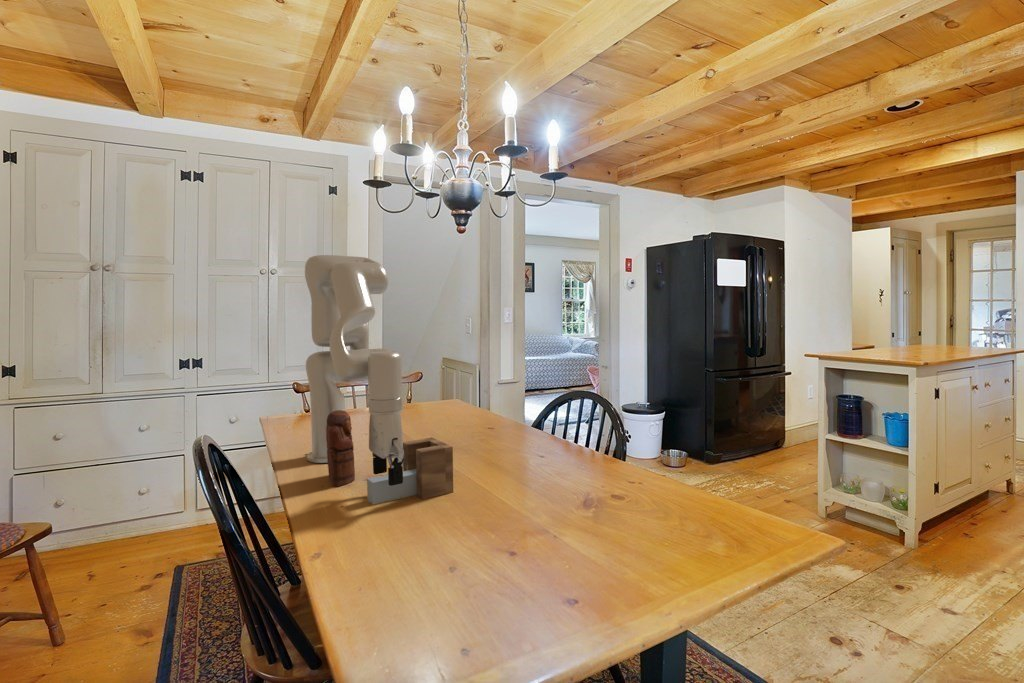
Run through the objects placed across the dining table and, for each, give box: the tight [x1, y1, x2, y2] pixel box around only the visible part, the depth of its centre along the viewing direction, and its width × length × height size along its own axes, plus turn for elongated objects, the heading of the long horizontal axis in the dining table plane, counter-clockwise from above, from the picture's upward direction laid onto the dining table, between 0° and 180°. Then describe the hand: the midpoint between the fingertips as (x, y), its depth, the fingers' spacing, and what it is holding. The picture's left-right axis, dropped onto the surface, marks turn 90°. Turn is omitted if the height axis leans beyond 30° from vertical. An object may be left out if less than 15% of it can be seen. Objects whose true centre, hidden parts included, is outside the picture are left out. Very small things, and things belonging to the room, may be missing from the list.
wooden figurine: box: [326, 410, 356, 487], centre depth 132 cm, size 12×6×18 cm, turn 25°
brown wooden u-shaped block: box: [403, 437, 454, 500], centre depth 125 cm, size 11×8×11 cm
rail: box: [366, 469, 417, 505], centre depth 121 cm, size 4×15×6 cm, turn 125°
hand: (387, 478), depth 119 cm, fingers open, 9 cm apart
